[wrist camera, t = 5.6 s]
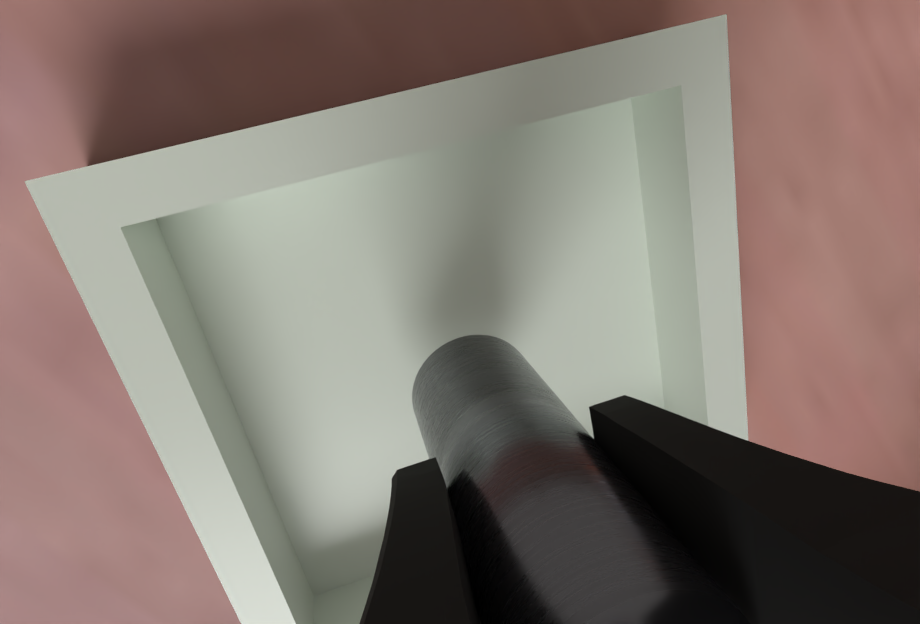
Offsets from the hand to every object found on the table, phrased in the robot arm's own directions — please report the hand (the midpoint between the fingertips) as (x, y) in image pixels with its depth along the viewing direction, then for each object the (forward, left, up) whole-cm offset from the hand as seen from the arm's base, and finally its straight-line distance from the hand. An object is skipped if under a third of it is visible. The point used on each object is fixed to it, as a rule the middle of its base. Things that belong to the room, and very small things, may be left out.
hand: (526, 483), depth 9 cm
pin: (0, 0, -3) cm, 3 cm away
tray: (0, 0, -5) cm, 5 cm away
